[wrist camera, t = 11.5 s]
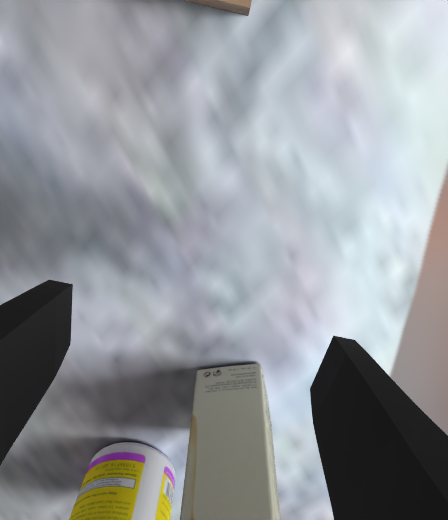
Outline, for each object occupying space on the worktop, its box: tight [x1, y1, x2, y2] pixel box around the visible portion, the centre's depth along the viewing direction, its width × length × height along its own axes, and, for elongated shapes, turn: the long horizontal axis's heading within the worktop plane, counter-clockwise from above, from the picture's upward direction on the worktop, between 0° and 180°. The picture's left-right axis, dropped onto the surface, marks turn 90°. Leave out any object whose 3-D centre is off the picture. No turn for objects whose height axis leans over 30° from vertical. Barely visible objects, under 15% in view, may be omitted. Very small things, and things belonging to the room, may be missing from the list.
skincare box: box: [180, 364, 280, 520], centre depth 20 cm, size 6×4×12 cm
